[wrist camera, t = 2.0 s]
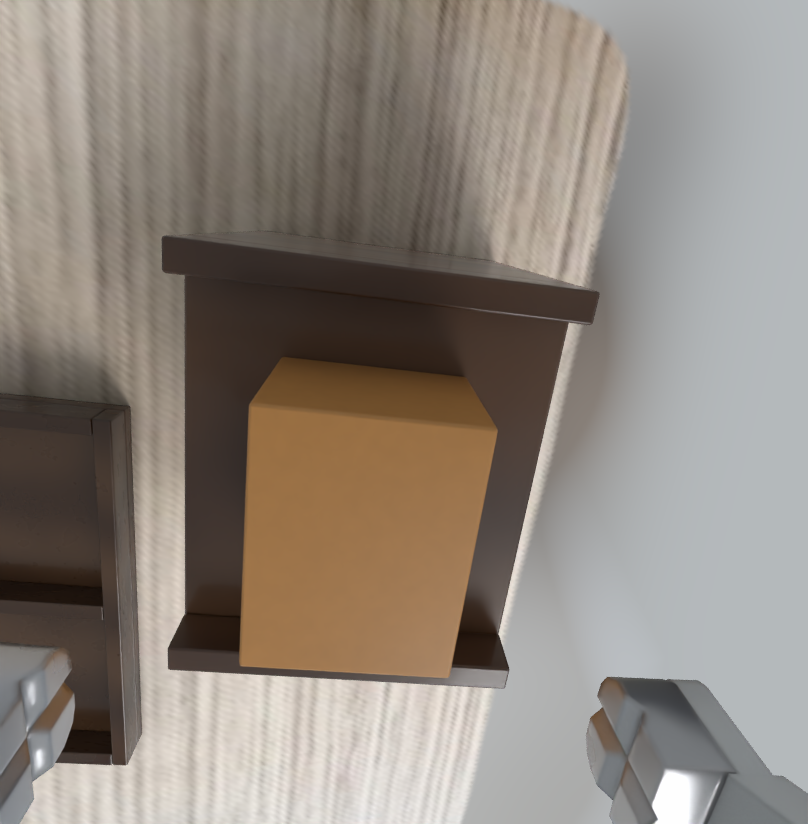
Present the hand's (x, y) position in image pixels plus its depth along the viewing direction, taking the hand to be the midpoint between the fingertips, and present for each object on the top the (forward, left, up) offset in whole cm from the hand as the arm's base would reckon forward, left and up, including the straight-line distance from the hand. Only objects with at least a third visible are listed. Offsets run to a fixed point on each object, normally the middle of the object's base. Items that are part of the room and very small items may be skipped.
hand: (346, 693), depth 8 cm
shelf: (+19, -6, -18) cm, 26 cm away
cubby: (0, 0, -18) cm, 18 cm away
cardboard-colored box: (0, 0, -8) cm, 8 cm away
